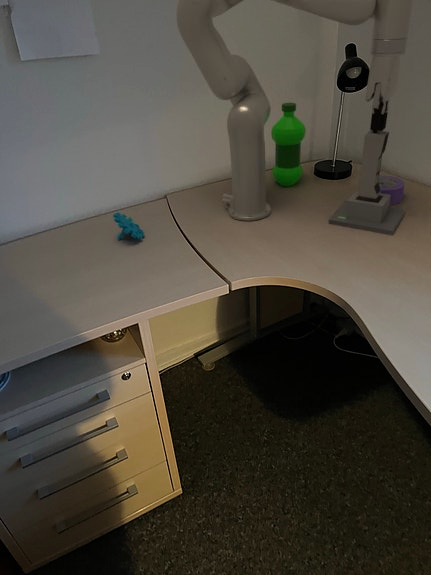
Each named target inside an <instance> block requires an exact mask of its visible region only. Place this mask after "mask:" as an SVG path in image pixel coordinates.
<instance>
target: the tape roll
mask: <svg viewBox="0 0 431 575" xmlns="http://www.w3.org/2000/svg"><path fill="white" fill-rule="evenodd" d="M378 184H379V187H380V189H381V193H383V194H389V195H391V197H390V203H389V206H393V205H398V204H399V203H401V202H402V201H403V197H404V192H405V181H404V180H403V179H401V178H400V177H397V176H392V175H385V174H384V175H380V174H379V181H378Z"/></svg>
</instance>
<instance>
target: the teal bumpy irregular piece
mask: <svg viewBox="0 0 431 575" xmlns="http://www.w3.org/2000/svg"><path fill="white" fill-rule="evenodd" d="M112 217H113V222H115V223H116V224H117V226H118V228H119V229H121V231H120V233H119V234H118V235H117V237H116V239H117V241H121V240H122V239H123V237H124V236H125V235H126V234H127V235H129V233H131V237H132V238H133V239H136V238H137V239H138V240H142V239H143V238H144V237H145V234H144V230H143V229H141V228H140V224H138V223H135V222H134V220H133V217H132V216H128V217H127V215H126V214H124V213H122V214H121V213H120V212H118V211H117V212H116V213H114V214H113V215H112Z"/></svg>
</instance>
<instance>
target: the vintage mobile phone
mask: <svg viewBox="0 0 431 575" xmlns="http://www.w3.org/2000/svg"><path fill="white" fill-rule="evenodd" d="M389 135H390V131H385V130H383V131H374V130H369V131H367V133H365V135H364V139H363V140H364V141H363V148H362V156H361V166H360V175H359V181H358V182H359V183H358V189H357V190H358V196H359V197H366V198H372V199H376V198H377V197H378V196H379V195H380V193H381V189H380V187H379V184H378V181H379V175H380V174H381V173H380V172H381V165H382V157H383V155H384V153H385V151H386V147H387V143H388V139H389Z"/></svg>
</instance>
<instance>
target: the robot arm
mask: <svg viewBox="0 0 431 575" xmlns="http://www.w3.org/2000/svg"><path fill="white" fill-rule="evenodd" d="M243 1H244V0H178V2H177V6H176V24H177V28H178V30H179V31H178V32H179V34H180V36H181V39H182V40H183V43H184V44H185V46H186V47H187V49H188V51H189V52H190V54H191V57H192V58H193V60H194V62H195V64H196V65H197V67H198V69H199V70H200V73H201V75H202V76H203V78H204V80H205V82H206V83H207V85H208V87H209V89H210V90H211V92H212V93H213V95H214V96H215V97H216V98H218V99H220V100H222V101H229V102H231V105H232V107H231V108H230V110H229V112H228V115H227V119H226V127H227V128H226V129H227V135H228V142H229V150H230V166H231V170H230V171H231V188H232V191H231V192H232V194H230V193H226V192H225V193H223V195H222V199H221V200H222V203H224V204H228V205H229V206H228V208H227V212H228V215H229V217H231V218H232V219H235V220H239V221H246V222H247V221H248V222H249V221H258V220H261V219H264V218H267V217H268V216H269V215H270V214H271V212H272V206H271V205H270V204H269V203H268V202H266V200H267V199H266V196H267V195H266V193H267V192H266V145H265V144H266V143H265V142H266V141H265V125H266V123H267V122H268V120H269V118H270V115H271V104H270V101H269V99H268V96H267V94H266V92H265V91H264V89H263V87H262V85H261V83H260V81H259V79H258V78H257V76H256V74H255V72H254V69H253V68H252V66H251V65H250V64H249V62H248V61H247V59H245V58H243V56H240V55H238V54H232V53H231V52H230V50H229V48H228V46H227V45H226V43H225V41H224V40H225V39H224V38H223V37H222V36H221V33H219V31H218V30H217V28H216V26H215V25H214V23H213V18H216V17H219V16H221V15H223V14H225V13H227V12H228V11H229V10H231V9H232V8H234V7H236V6H238V5H239V4H240V3H242V2H243ZM271 1H272V2H275V3H277V4H281V5H284V6H288V7H291V8H293V9H295V10H298V11H303V12H306V13H310V14H313V15H315V16H318V17H321V18H325V19H327V20H331V21H335V22H337V23H341V24H344V25H348V26H360V25H363V24H364V23H366V22H367V21H368V20H373V29H372V35H371V36H372V37H371V38H372V39H371V44H370V45H371V47H370V55H371V56H372V58H371V63H370V67H369V73H368V78H367V84H366V92H365V98H364V99H365V101H366V102H370V101H371V100H372V107H371V108H372V110H371V111H372V112H371V118H370V119H371V120H370V125H369V126H370V128H369V129H370V130H374V131H385V129H386V127H387V121H388V115H389V114H388V113H389V112H388V110H389V107H390V106H389V105H390V100H391V98H392V97H393V96H395V94H396V90H397V85H398V78H399V71H400V62H401V56H402V55H403V56H404V55H405V54H406V50H407V43H408V35H409V30H410V24H411V23H410V22H411V17H412V16H411V15H412V9H413V3H414V0H271ZM370 130H369V131H370Z"/></svg>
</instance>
